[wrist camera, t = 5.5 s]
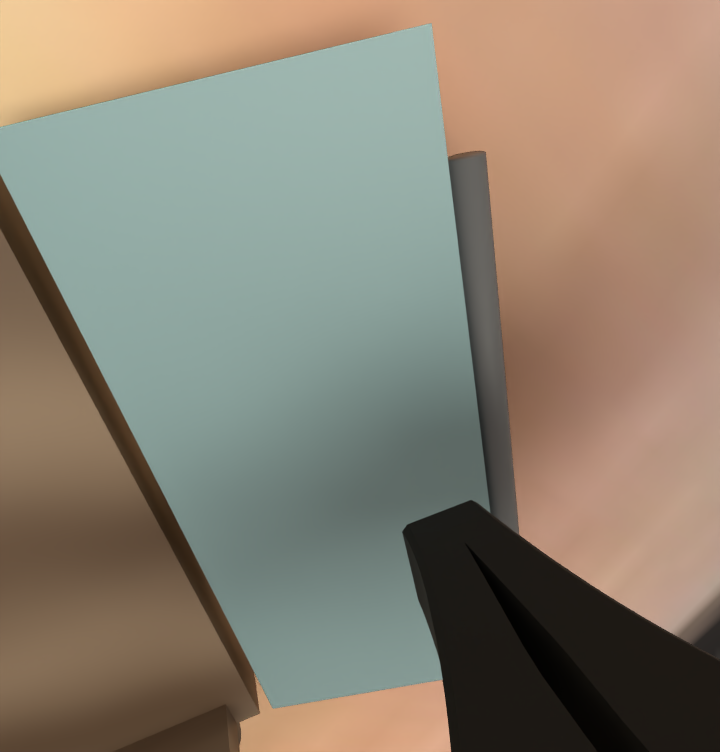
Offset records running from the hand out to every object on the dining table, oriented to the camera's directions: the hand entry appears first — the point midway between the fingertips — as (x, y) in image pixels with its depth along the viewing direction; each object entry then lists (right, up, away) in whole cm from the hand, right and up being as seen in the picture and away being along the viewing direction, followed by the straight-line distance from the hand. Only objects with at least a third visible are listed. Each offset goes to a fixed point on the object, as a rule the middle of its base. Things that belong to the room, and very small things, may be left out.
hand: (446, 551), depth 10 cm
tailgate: (-6, 0, +3) cm, 6 cm away
